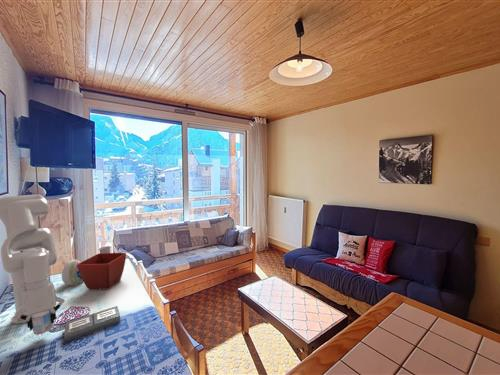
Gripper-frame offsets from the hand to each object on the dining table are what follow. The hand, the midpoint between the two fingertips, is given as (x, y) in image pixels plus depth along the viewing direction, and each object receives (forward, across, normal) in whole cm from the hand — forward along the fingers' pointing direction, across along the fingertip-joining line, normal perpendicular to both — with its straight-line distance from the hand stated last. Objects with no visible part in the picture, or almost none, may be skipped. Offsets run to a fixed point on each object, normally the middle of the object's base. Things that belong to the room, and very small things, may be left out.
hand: (42, 324), depth 97 cm
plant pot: (+6, +25, +39) cm, 47 cm away
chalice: (+6, +27, +58) cm, 64 cm away
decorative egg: (+6, +10, +55) cm, 56 cm away
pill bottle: (+3, 0, 0) cm, 3 cm away
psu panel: (+6, +17, -4) cm, 19 cm away
